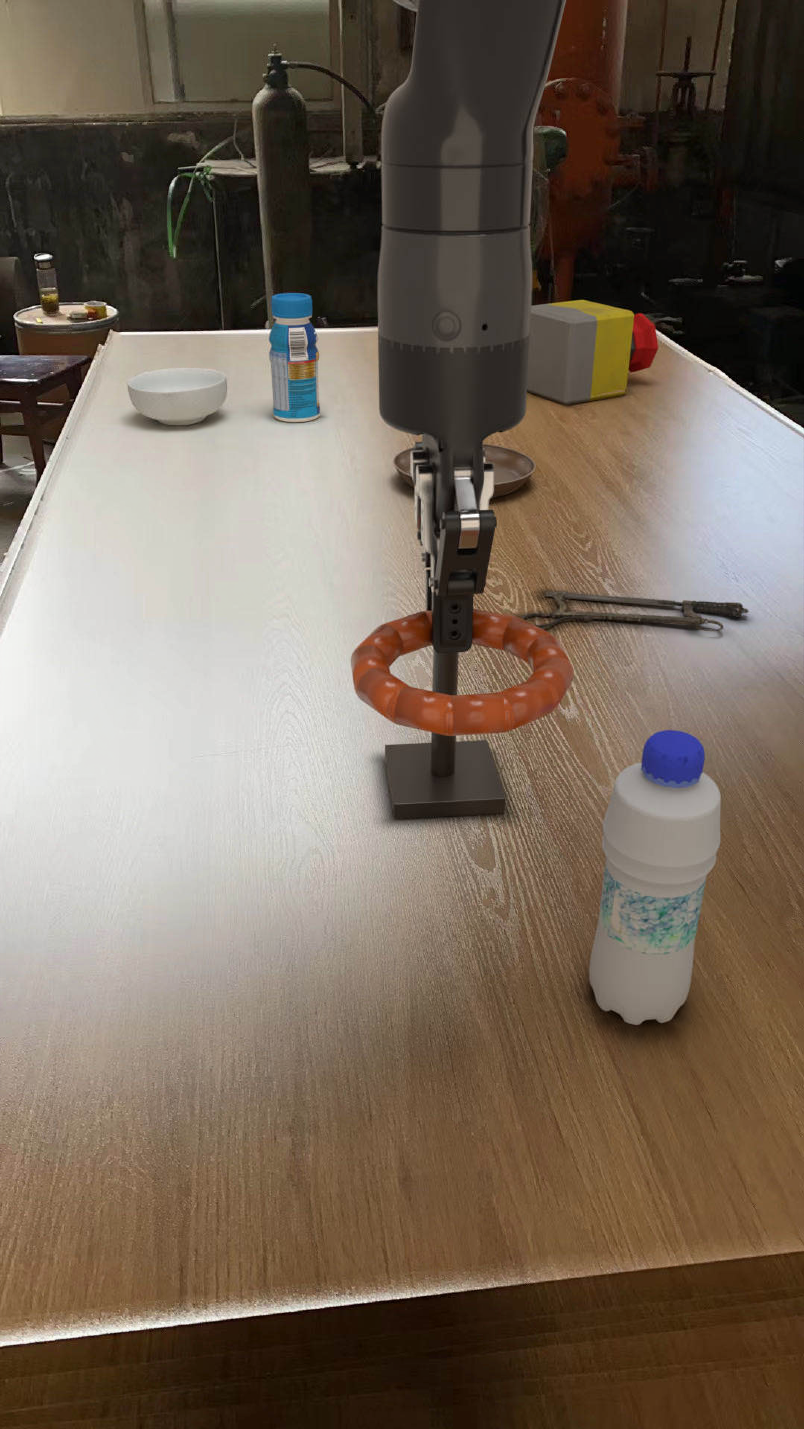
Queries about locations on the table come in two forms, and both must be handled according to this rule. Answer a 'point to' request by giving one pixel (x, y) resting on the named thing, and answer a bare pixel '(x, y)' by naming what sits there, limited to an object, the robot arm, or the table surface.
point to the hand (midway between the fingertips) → (448, 638)
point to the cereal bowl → (178, 394)
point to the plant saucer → (507, 462)
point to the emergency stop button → (586, 350)
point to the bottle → (654, 879)
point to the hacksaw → (687, 606)
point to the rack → (443, 767)
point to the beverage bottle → (294, 359)
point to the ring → (462, 710)
